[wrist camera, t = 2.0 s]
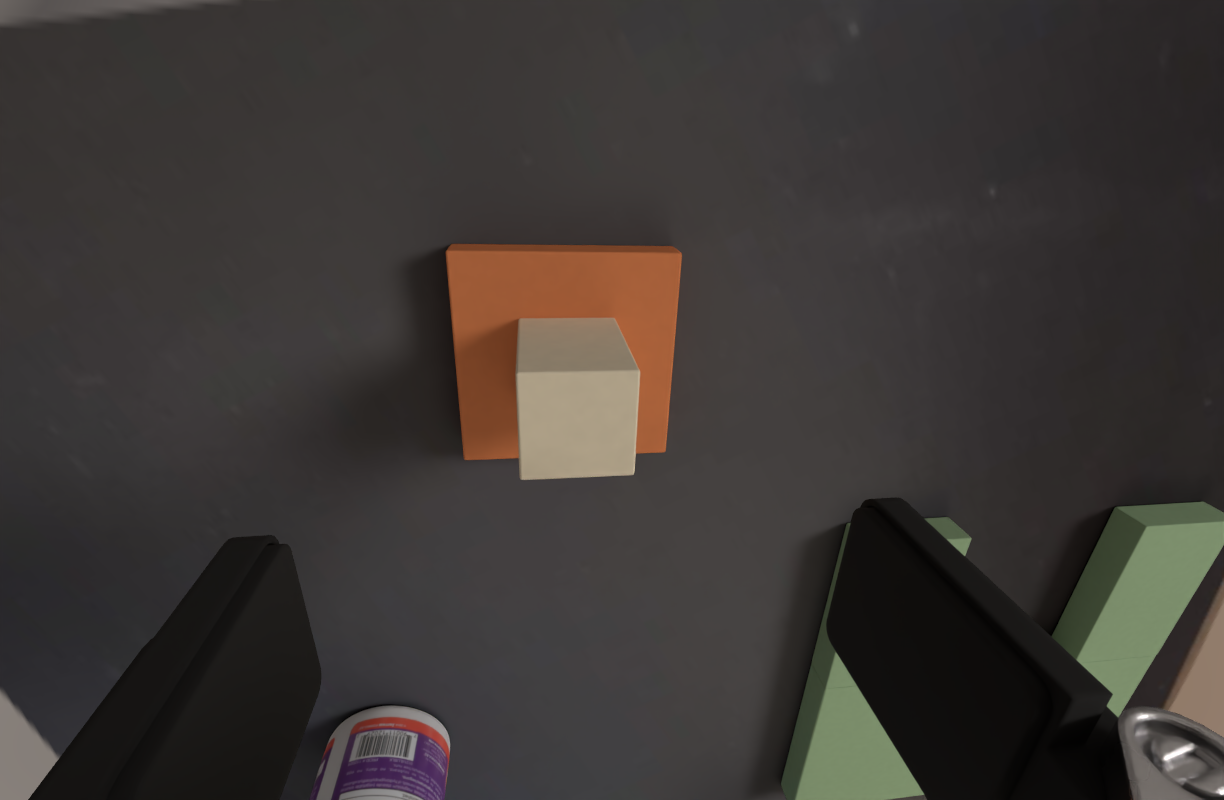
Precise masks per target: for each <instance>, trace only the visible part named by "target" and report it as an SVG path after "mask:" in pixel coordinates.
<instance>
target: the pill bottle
mask: <svg viewBox="0 0 1224 800" xmlns="http://www.w3.org/2000/svg"><path fill="white" fill-rule="evenodd" d="M449 754H450V739H449V735H448V732H447V730H446V729H445V727H444V726H443V725H442V724H441V723H440V722H439V721H438V720H437V719H436V718H435V717H433V716H431V715H430V714H428V713H426V712H423V711H421V710H418V709H415V708H410V707H405V706H393V705H390V706H379V707H374V708H370V709H367V710H364V711H361V712H359V713H356V714H354V715H352V716H351V717H349V718H348V719H346V720H345V721H344V722H342V723H341V724H340V725H339V726H338V727H337V728H336V730H335V731H334V732H333V734H332V735H331V737H330V739H329V742H328V744H327V747H326V750H325V752H324V755H323V758H322V761H321V764H320V767H319V771H318V773H317V777H316V780H315V783H314V786H313V789H312V792H311V796H310V799H309V800H444V796H445V788H446V780H447V772H448V764H449Z"/></svg>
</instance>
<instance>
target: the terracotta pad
mask: <svg viewBox="0 0 1224 800" xmlns="http://www.w3.org/2000/svg"><path fill="white" fill-rule="evenodd" d="M681 260H682V253H681V252H679V251H678V250H677V249H675V248H674V247H672V246H605V245H511V244H451V245H450V246H449V248H448V249H447V250H446V263H447V275H448V286H449V297H450V308H451V320H452V331H453V342H454V353H455V364H456V376H457V387H458V398H459V409H460V421H461V432H462V443H463V454H464V459H465V460H482V459H507V458H519V472H520V479H521V480H533V479H555V478H578V477H600V476H622V475H633V474H634V472H635V455H636V453H658V452H665V450H666V439H667V427H668V415H669V404H670V392H671V380H672V368H673V356H674V344H675V332H676V320H677V308H678V296H679V284H680V272H681Z"/></svg>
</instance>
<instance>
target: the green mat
mask: <svg viewBox="0 0 1224 800" xmlns="http://www.w3.org/2000/svg"><path fill="white" fill-rule="evenodd" d="M924 519H925V520H926V521H927V522H928V523H930V524H931V525H932V526H933V527H934V528H935V529H936V530H937V531H938V532H939V533H940V534H941V535H942V536H944V537H945V538H946V539H947V540H948V541H949V542H950V543H951V544H952V545H953V546H954V547H955V548H956V549H958V550H959V551H960V552H961V553H962V554H963V555H964V556H965V554H966V552H967V549H968V546H969V544H970V541H971V537H970V536H968V535H967V534H966V533H965V532H964V531H963V530H962V529H961V528H960V527H959V526H957V525H956V524H955V523H954V522H953V521H952V520H951V519H950V518H948V517H940V518H924ZM850 524H851V523H847V524H846V528H845V532H844V536H843V540H842V544H841V548H840V552H839V556H838V560H837V564H836V568H835V571H834V575H833V579H832V583H831V587H830V591H829V595H828V599H827V603H826V607H825V611H824V615H823V619H822V623H821V627H820V631H819V635H818V638H817V642H816V646H815V650H814V654H813V658H812V664H811V667H810V671H809V675H808V679H807V683H806V687H805V691H804V695H803V699H802V703H801V706H800V710H799V714H798V718H797V722H796V726H795V730H794V734H793V738H792V742H791V746H790V750H789V754H788V758H787V762H786V766H785V769H784V773H783V777H782V781H781V786H782V789H783V792H784V794H785V797H786V799H787V800H887V799H894V798H902V797H909V796H917V795H924V793H923V792H922V790H921V788H920V787H919V785H918V784H917V782H916V780H915V779H914V777H913V776H912V774H911V772H910V771H909V769H908V767H907V766H906V764H905V763H904V761H903V759H902V758H901V756H900V755H899V753H898V751H897V750H896V748H895V746H894V745H893V743H892V742H891V740H890V738H889V737H888V735H887V734H886V732H885V730H884V729H883V727H882V725H881V724H880V722H879V721H878V719H877V717H876V716H875V714H874V713H873V711H872V709H871V708H870V706H869V704H868V703H867V701H866V700H865V698H864V696H863V695H862V693H861V692H860V690H859V688H858V687H857V685H856V683H855V682H854V680H853V679H852V677H851V675H850V674H849V672H848V671H847V669H846V667H845V666H844V664H843V662H842V661H841V659H840V658H839V656H838V654H837V653H836V651H835V650H834V648H833V646H832V645H831V643H830V641H829V638H828V635H827V630H826V621H827V617H828V613H829V609H830V605H831V601H832V596H833V592H834V588H835V584H836V580H837V576H838V572H839V568H840V564H841V560H842V556H843V552H844V548H845V544H846V540H847V536H848V532H849V528H850ZM1223 545H1224V513H1223V512H1221V511H1220V510H1218V509H1216V508H1214V507H1212V506H1210V505H1208V504H1207V503H1205V502H1188V503H1172V504H1155V505H1138V506H1122V507H1115V508H1114V510H1113V512H1112V514H1111V516H1110V518H1109V520H1108V522H1107V524H1106V526H1105V528H1104V530H1103V532H1102V534H1101V537H1100V539H1099V541H1098V543H1097V545H1096V547H1095V549H1094V551H1093V553H1092V555H1091V557H1090V559H1089V561H1088V563H1087V565H1086V567H1085V569H1084V571H1083V573H1082V575H1081V577H1080V579H1079V581H1078V583H1077V585H1076V587H1075V590H1074V592H1073V594H1072V596H1071V598H1070V600H1069V602H1068V604H1067V606H1066V608H1065V610H1064V612H1063V614H1062V616H1061V618H1060V620H1059V622H1058V624H1057V626H1056V628H1055V630H1054V632H1053V634H1052V636H1051V637H1052V638H1053V639H1054V640H1055V641H1057V642H1058V643H1059V644H1060V645H1061V646H1062V647H1063V648H1064V649H1065V650H1066V651H1067V652H1068V653H1069V654H1071V655H1072V656H1073V657H1074V658H1075V659H1076V660H1077V661H1078V662H1079V663H1080V664H1081V665H1082V666H1083V667H1085V668H1086V669H1087V670H1088V671H1089V672H1090V673H1091V674H1092V675H1093V676H1094V677H1095V678H1096V679H1097V680H1098V681H1100V682H1101V683H1102V684H1103V685H1104V686H1105V687H1106V688H1107V689H1108V690H1109V691H1110V692H1111V693H1112V694H1113V695H1112V697H1111V699H1110V701H1109V702H1108V704H1107V707H1108V708H1109V709H1110V710H1111V711H1112V712H1113V713H1114V714H1115V715H1116V716H1117V717H1119V715H1120V714H1121V712H1122V710H1123V709H1124V707H1125V705H1126V704H1127V702H1128V701H1129V699H1130V697H1131V696H1132V694H1133V692H1134V691H1135V689H1136V687H1137V686H1138V684H1139V682H1140V681H1141V679H1142V678H1143V676H1144V674H1145V673H1146V671H1147V669H1148V668H1149V666H1150V664H1151V663H1152V661H1153V659H1154V658H1155V655H1157V654H1158V652H1159V650H1160V649H1161V647H1162V646H1163V644H1164V642H1165V641H1166V639H1167V637H1168V636H1169V634H1170V632H1171V631H1172V629H1173V627H1174V626H1175V624H1176V622H1177V621H1178V619H1179V618H1180V616H1181V614H1182V613H1183V611H1184V609H1185V608H1186V606H1187V604H1188V603H1189V601H1190V599H1191V598H1192V596H1193V595H1194V593H1195V591H1196V590H1197V588H1198V586H1199V585H1200V583H1201V581H1202V580H1203V578H1204V576H1205V575H1206V573H1207V572H1208V570H1209V568H1210V567H1211V565H1212V563H1213V562H1214V560H1215V558H1216V557H1217V555H1218V553H1219V552H1220V550H1221V549H1222V547H1223Z"/></svg>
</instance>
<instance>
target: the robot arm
mask: <svg viewBox="0 0 1224 800" xmlns="http://www.w3.org/2000/svg"><path fill="white" fill-rule="evenodd" d="M826 630H827V635H828V638H829V641H830V643H831V645H832V646H833V648H834V650H835V651H836V653H837V654H838V656H839V658H840V659H841V661H842V662H843V664H844V666H845V667H846V669H847V671H848V672H849V674H850V675H851V677H852V679H853V680H854V682H855V683H856V685H857V687H858V688H859V690H860V692H861V693H862V695H863V696H864V698H865V700H866V701H867V703H868V704H869V706H870V708H871V709H872V711H873V713H874V714H875V716H876V717H877V719H878V721H879V722H880V724H881V725H882V727H883V729H884V730H885V732H886V734H887V735H888V737H889V738H890V740H891V742H892V743H893V745H894V746H895V748H896V750H897V751H898V753H899V755H900V756H901V758H902V759H903V761H904V763H905V764H906V766H907V767H908V769H909V771H910V772H911V774H912V776H913V777H914V779H915V780H916V782H917V784H918V785H919V787H920V788H921V790H922V792H923V793H924V795H925V797H926V798H927V800H1224V738H1223V737H1222V736H1220V735H1218V734H1217V733H1215V732H1214V731H1212V730H1210V729H1209V728H1207V727H1205V726H1204V725H1202V724H1200V723H1197V722H1195V721H1193V720H1191V719H1189V718H1186V717H1184V716H1182V715H1180V714H1177V713H1173V712H1170V711H1167V710H1163V709H1160V708H1155V707H1144V706H1137V707H1133V708H1129V709H1126V710H1125V711H1124V712H1123V713H1122V714H1121V715H1120V716H1119V717H1117V716H1116V715H1115V714H1114V713H1113V712H1112V711H1111V710H1110V709H1109V708H1108V707H1107V704H1108V702H1109V701H1110V699H1111V697H1112V695H1113V694H1112V693H1111V692H1110V691H1109V690H1108V689H1107V688H1106V687H1105V686H1104V685H1103V684H1102V683H1101V682H1100V681H1098V680H1097V679H1096V678H1095V677H1094V676H1093V675H1092V674H1091V673H1090V672H1089V671H1088V670H1087V669H1086V668H1085V667H1083V666H1082V665H1081V664H1080V663H1079V662H1078V661H1077V660H1076V659H1075V658H1074V657H1073V656H1072V655H1071V654H1069V653H1068V652H1067V651H1066V650H1065V649H1064V648H1063V647H1062V646H1061V645H1060V644H1059V643H1058V642H1057V641H1055V640H1054V639H1053V638H1052V637H1051V636H1050V635H1049V634H1048V633H1047V632H1046V631H1045V630H1044V629H1043V628H1041V627H1040V626H1039V625H1038V624H1037V623H1036V622H1035V621H1034V620H1033V619H1032V618H1031V617H1030V616H1029V615H1027V614H1026V613H1025V612H1024V611H1023V610H1022V609H1021V608H1020V607H1019V606H1018V605H1017V604H1016V603H1015V602H1013V601H1012V600H1011V599H1010V598H1009V597H1008V596H1007V595H1006V594H1005V593H1004V592H1003V591H1002V590H1001V589H999V588H998V587H997V586H996V585H995V584H994V583H993V582H992V581H991V580H990V579H989V578H988V577H987V576H986V575H984V574H983V573H982V572H981V571H980V570H979V569H978V568H977V567H976V566H975V565H974V564H973V563H972V562H970V561H969V560H968V559H967V558H966V557H965V556H964V555H963V554H962V553H961V552H960V551H959V550H958V549H956V548H955V547H954V546H953V545H952V544H951V543H950V542H949V541H948V540H947V539H946V538H945V537H944V536H942V535H941V534H940V533H939V532H938V531H937V530H936V529H935V528H934V527H933V526H932V525H931V524H930V523H928V522H927V521H926V520H925V519H924V518H923V517H922V516H921V515H920V514H919V513H918V512H917V511H916V510H914V509H913V508H912V507H911V506H910V505H909V504H908V503H907V502H906V501H904V500H903V499H901V498H881V499H868V500H865V501H864V502H863V503H862V505H861V507H860V508H858V509H856V510H855V511H854V513H853V516H852V520H851V524H850V528H849V532H848V536H847V540H846V544H845V548H844V552H843V556H842V560H841V564H840V568H839V572H838V576H837V580H836V584H835V588H834V592H833V596H832V601H831V605H830V609H829V613H828V617H827V621H826ZM320 685H321V667H320V663H319V659H318V655H317V651H316V647H315V643H314V639H313V635H312V631H311V627H310V623H309V619H308V615H307V611H306V607H305V603H304V599H303V595H302V591H301V587H300V583H299V579H298V575H297V571H296V567H295V563H294V559H293V555H292V551H291V548H290V547H289V546H288V545H287V544H279V542H278V540H277V539H276V537H275V536H272V535H268V536H251V537H235V538H231V539H228V540H227V541H226V542H225V543H224V544H223V546H222V547H221V548H220V550H219V551H218V552H217V554H216V555H215V556H214V558H213V559H212V560H211V562H210V563H209V565H208V566H207V567H206V569H205V570H204V571H203V573H202V574H201V575H200V577H199V578H198V579H197V581H196V582H195V583H194V585H193V586H192V587H191V589H190V590H189V591H188V593H187V594H186V595H185V597H184V598H183V599H182V601H181V602H180V603H179V605H178V606H177V607H176V609H175V610H174V611H173V613H172V614H171V615H170V617H169V618H168V619H167V621H166V622H165V623H164V625H163V626H162V627H161V629H160V630H159V631H158V633H157V634H156V635H155V637H154V638H153V639H151V640H150V641H149V642H148V643H147V644H146V645H145V646H144V647H143V648H142V650H141V651H140V652H139V653H138V655H137V656H136V657H135V659H134V660H133V661H132V663H131V664H130V665H129V667H128V668H127V669H126V671H125V672H124V673H123V675H122V676H121V677H120V679H119V680H118V681H117V683H116V684H115V685H114V687H113V688H112V689H111V691H110V692H109V693H108V695H107V696H106V697H105V699H104V700H103V701H102V703H101V704H100V705H99V707H98V708H97V709H96V710H95V712H94V713H93V714H92V716H91V717H90V718H89V720H88V721H87V722H86V724H85V725H84V726H83V728H82V729H81V730H80V732H79V733H78V734H77V736H76V737H75V738H74V740H73V741H72V742H71V744H70V745H69V746H68V748H67V749H66V750H65V752H64V753H63V754H62V756H61V757H60V758H59V760H58V761H57V762H56V764H55V765H54V766H53V768H52V769H51V770H50V771H49V773H48V774H47V775H46V777H45V778H44V780H43V781H42V782H41V783H40V785H39V786H38V787H37V789H36V790H35V791H34V793H33V794H32V795H31V797H30V798H29V799H28V800H279V799H280V796H281V794H282V791H283V788H284V786H285V783H286V780H287V778H288V775H289V772H290V769H291V767H292V764H293V761H294V759H295V756H296V753H297V751H298V748H299V745H300V742H301V740H302V737H303V734H304V732H305V729H306V726H307V724H308V721H309V718H310V716H311V713H312V710H313V707H314V705H315V702H316V699H317V697H318V694H319V690H320Z"/></svg>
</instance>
